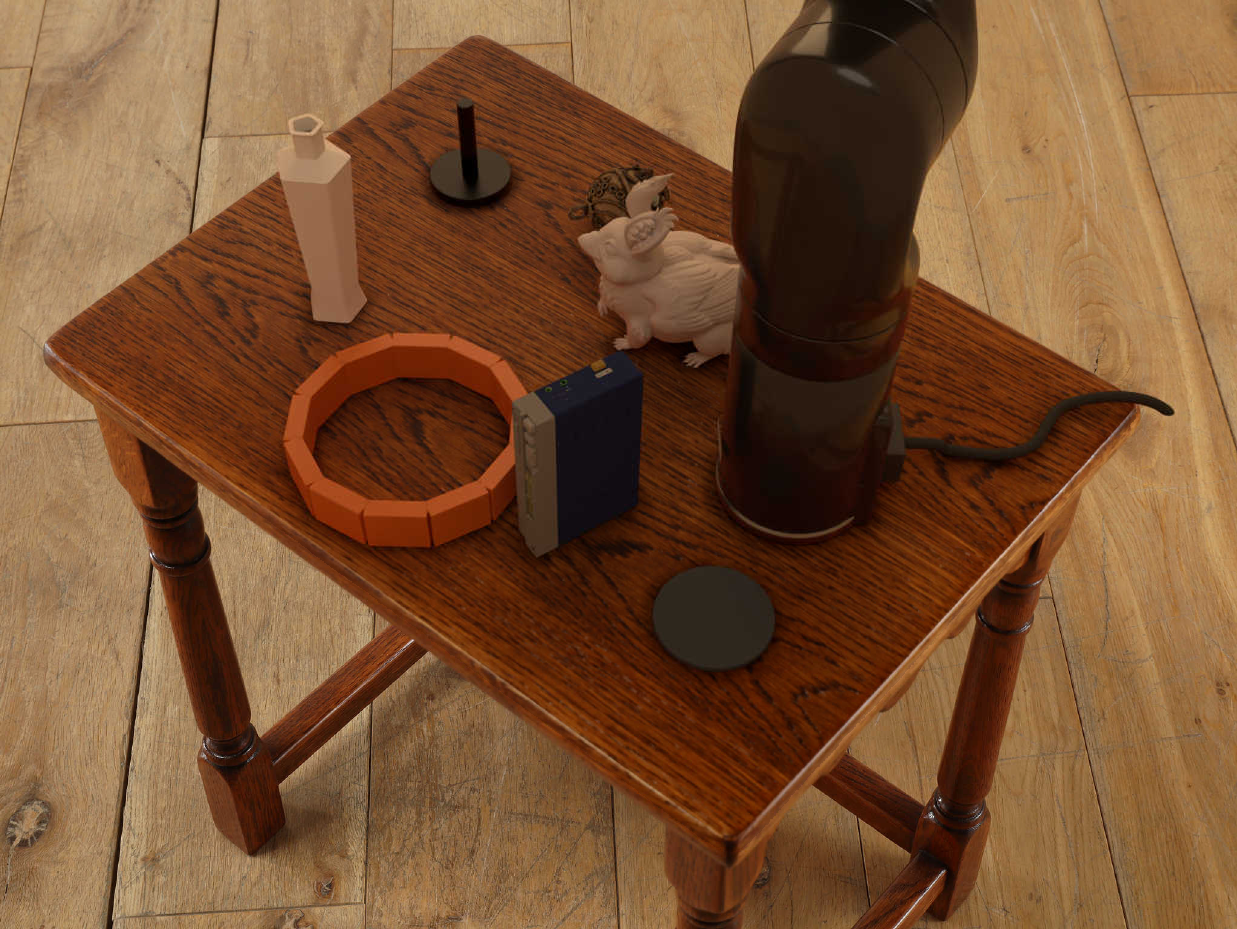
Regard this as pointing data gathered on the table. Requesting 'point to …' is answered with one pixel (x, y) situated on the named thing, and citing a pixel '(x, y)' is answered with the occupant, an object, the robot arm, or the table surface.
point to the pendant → (615, 195)
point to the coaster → (713, 618)
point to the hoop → (375, 367)
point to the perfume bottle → (323, 218)
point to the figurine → (664, 278)
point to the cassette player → (578, 451)
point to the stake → (469, 168)
